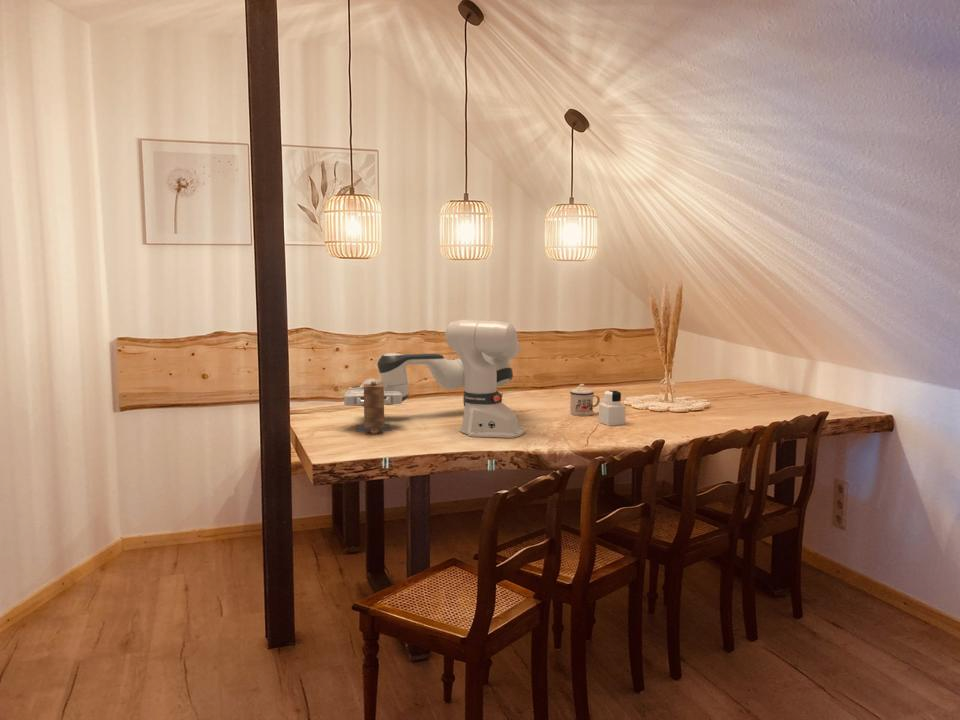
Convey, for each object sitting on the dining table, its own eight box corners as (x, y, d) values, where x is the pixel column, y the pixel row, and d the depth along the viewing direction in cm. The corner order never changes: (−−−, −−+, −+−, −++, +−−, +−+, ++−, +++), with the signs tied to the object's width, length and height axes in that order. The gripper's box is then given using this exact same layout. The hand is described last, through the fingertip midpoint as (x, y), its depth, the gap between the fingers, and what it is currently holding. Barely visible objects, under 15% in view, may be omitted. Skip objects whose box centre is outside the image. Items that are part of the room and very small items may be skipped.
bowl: (379, 433, 282) (379, 428, 282) (376, 435, 279) (376, 430, 279) (372, 432, 283) (372, 428, 282) (369, 434, 280) (369, 429, 280)
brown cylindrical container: (383, 422, 285) (382, 379, 282) (384, 427, 278) (383, 383, 276) (364, 423, 284) (363, 380, 281) (364, 427, 277) (364, 383, 275)
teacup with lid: (574, 416, 310) (575, 386, 308) (566, 412, 318) (566, 382, 317) (604, 415, 313) (604, 385, 311) (594, 410, 321) (595, 381, 320)
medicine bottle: (615, 420, 303) (616, 389, 301) (625, 424, 296) (626, 392, 294) (598, 422, 300) (599, 390, 299) (608, 426, 294) (608, 393, 292)
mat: (389, 424, 296) (389, 423, 296) (391, 431, 284) (391, 430, 284) (356, 425, 294) (356, 424, 294) (356, 432, 282) (356, 431, 282)
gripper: (401, 403, 294) (404, 410, 281) (344, 404, 291) (344, 412, 278) (401, 385, 293) (404, 392, 280) (343, 387, 290) (343, 394, 277)
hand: (373, 402), depth 279 cm, fingers closed on brown cylindrical container, 7 cm apart
